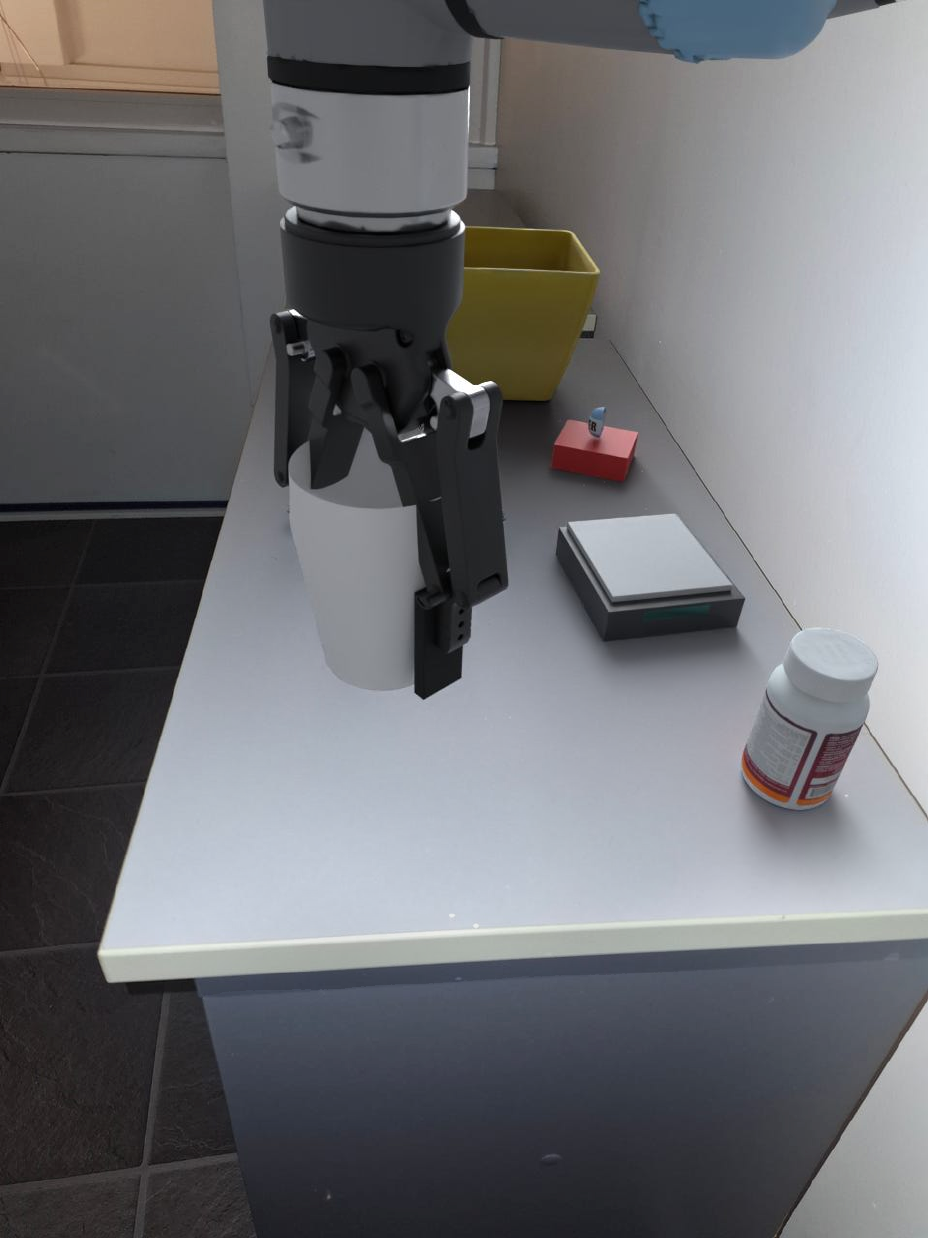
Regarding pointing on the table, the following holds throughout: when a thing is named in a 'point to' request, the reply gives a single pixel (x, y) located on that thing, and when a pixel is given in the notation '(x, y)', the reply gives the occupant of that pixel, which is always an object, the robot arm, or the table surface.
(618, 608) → the scale
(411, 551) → the cup
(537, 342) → the flower pot
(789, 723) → the pill bottle
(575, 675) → the table surface
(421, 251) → the robot arm
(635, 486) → the table surface
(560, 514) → the table surface
